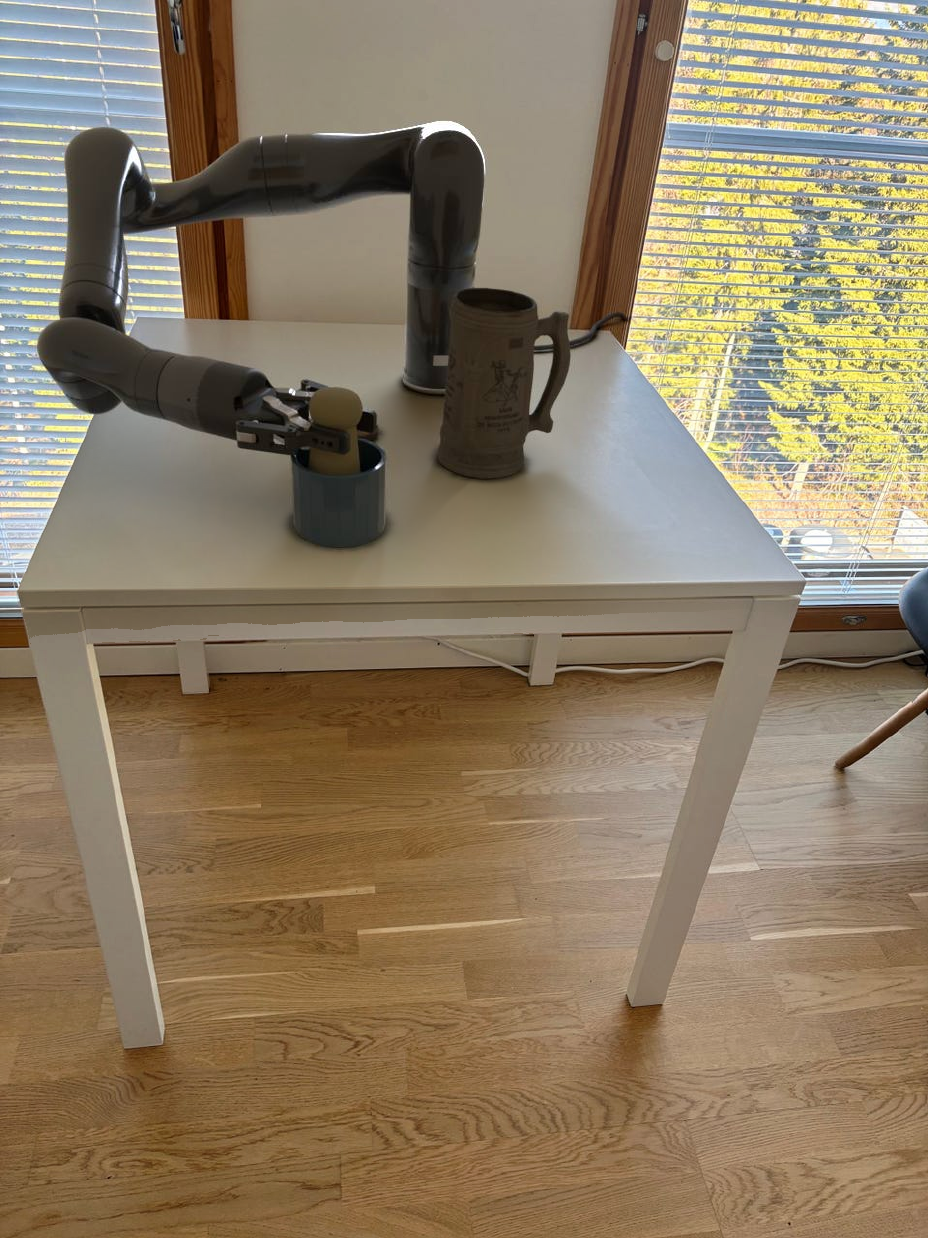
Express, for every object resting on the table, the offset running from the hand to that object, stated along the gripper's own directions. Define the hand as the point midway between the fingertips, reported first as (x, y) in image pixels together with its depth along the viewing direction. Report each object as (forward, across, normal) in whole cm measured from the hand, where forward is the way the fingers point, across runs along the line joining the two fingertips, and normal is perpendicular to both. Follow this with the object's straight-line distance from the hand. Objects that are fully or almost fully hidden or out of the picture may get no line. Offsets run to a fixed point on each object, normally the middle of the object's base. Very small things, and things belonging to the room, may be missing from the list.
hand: (361, 432), depth 89 cm
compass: (-13, +20, +11) cm, 27 cm away
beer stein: (+7, +24, +11) cm, 27 cm away
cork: (-3, -1, +7) cm, 8 cm away
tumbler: (-2, 0, +11) cm, 11 cm away
